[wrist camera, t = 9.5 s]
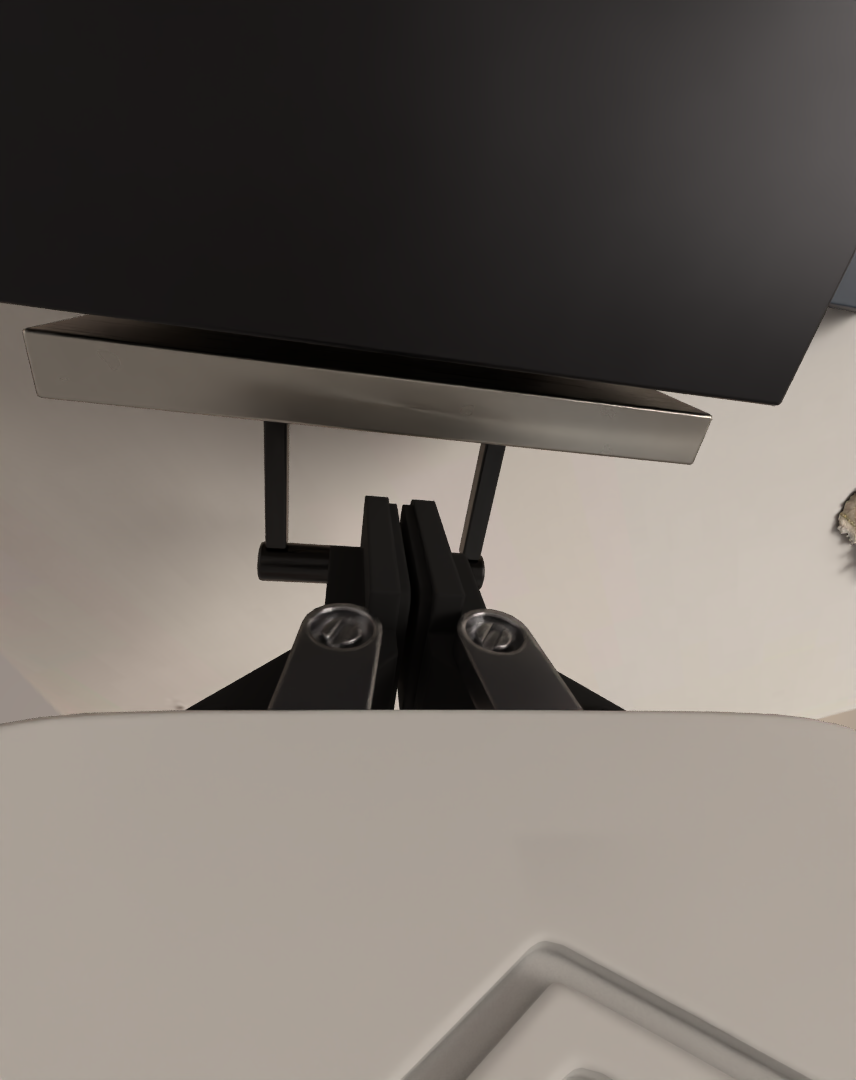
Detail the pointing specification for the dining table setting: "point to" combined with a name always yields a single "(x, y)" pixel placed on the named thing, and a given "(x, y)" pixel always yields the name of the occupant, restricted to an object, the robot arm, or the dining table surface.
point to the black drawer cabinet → (442, 177)
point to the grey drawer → (353, 407)
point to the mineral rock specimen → (849, 519)
